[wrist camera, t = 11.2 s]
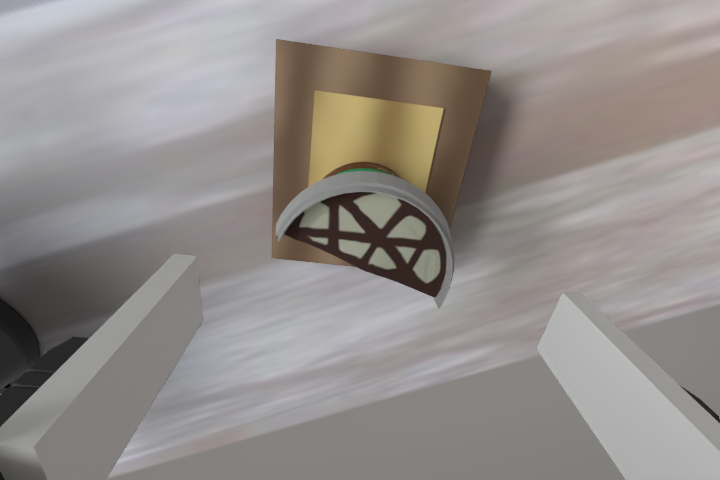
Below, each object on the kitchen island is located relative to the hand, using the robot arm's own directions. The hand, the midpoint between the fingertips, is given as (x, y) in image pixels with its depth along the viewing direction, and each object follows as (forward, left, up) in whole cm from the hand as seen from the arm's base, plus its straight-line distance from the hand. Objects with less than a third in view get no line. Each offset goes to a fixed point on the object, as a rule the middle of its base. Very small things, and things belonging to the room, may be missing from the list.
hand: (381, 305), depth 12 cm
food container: (+1, -1, -18) cm, 18 cm away
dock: (0, 0, -22) cm, 22 cm away
